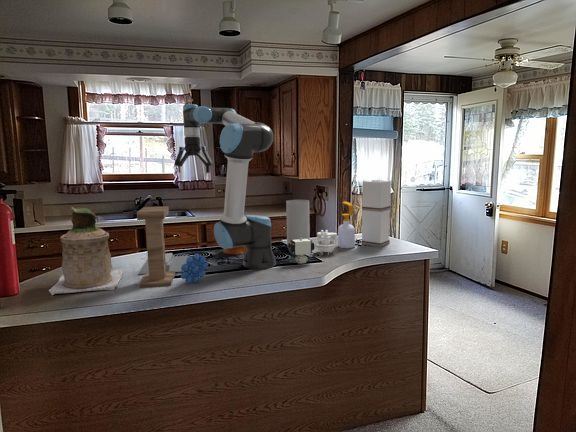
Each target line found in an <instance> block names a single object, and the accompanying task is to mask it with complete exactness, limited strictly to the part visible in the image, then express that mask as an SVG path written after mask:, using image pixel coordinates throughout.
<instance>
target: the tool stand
mask: <svg viewBox="0 0 576 432" xmlns="http://www.w3.org/2000/svg"><path fill="white" fill-rule="evenodd" d="M169 214H170V209H169V205H165V206H161V205H160V206H159V205H157V206H143V207H142V208H141V209H139V210H138V211H136V219H137V221H145V222H144V224H145V234H146V235H145V237H146V251H147V260H148V267H149V272H146V274H145V275H143V277H142V278H141V281H140V282H139V288H153V287H154V288H155V287H169V286H170V287H171V286H172V284H173V281H174V278H175V276H176V273H175V271H166V259H165V253H166V247H165V246H166V245H165V232H164V231H165V230H164V220H165V219H166V218H167V216H168V215H169ZM174 275H175V276H174Z"/></svg>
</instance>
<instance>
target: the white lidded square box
mask: <svg viewBox="0 0 576 432" xmlns="http://www.w3.org/2000/svg"><path fill="white" fill-rule="evenodd" d="M391 187H392V180H380V179H379V180H378V179H377V180H375V179H371V181H368V180H367V181H365V180H363V181H362V187H361V188H362V192H361V193H362V195H361V196H362V199H361V201H362V205H361V206H362V207H361V210H362V211H361V213H362V214H361V215H362V216H361V220H362V221H361V225H362V226H361V245H364V246H372V247H379V248H381V247H384V246H387V245H388V244H390V243H391V240H390V236H389V235H390V213H391V196H392V193H391V191H392V188H391Z"/></svg>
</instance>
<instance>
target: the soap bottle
mask: <svg viewBox="0 0 576 432" xmlns="http://www.w3.org/2000/svg"><path fill="white" fill-rule="evenodd" d="M342 204H344V205H345V206H348V213H342V214H341V216H343V217H344V219H343V224H340V225H339V226H338V228H337V246H338V247H339V248H341V249H351V248H352V249H353V248H355V246H356V240H355V239H356V229H355V227H354V226H353V225H352V224H350V216H353V213H354V205H353V204H352V203H351V202H348V201H347V200H346V201H342Z"/></svg>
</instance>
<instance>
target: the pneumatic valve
mask: <svg viewBox="0 0 576 432" xmlns="http://www.w3.org/2000/svg"><path fill="white" fill-rule="evenodd" d="M287 248H288V252H289V253H290V254H292V255H293V256H295V263H297V264H299V265H300V264H307V262H308V257H307V256H306V255H308V254H309V255H310V254H313V251H314V250H315V248H316V247H315V242H314V241H313V240H311V238H310V239H302V238H300V239H297V240H291V242H290V243H289V244H288V246H287Z"/></svg>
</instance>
